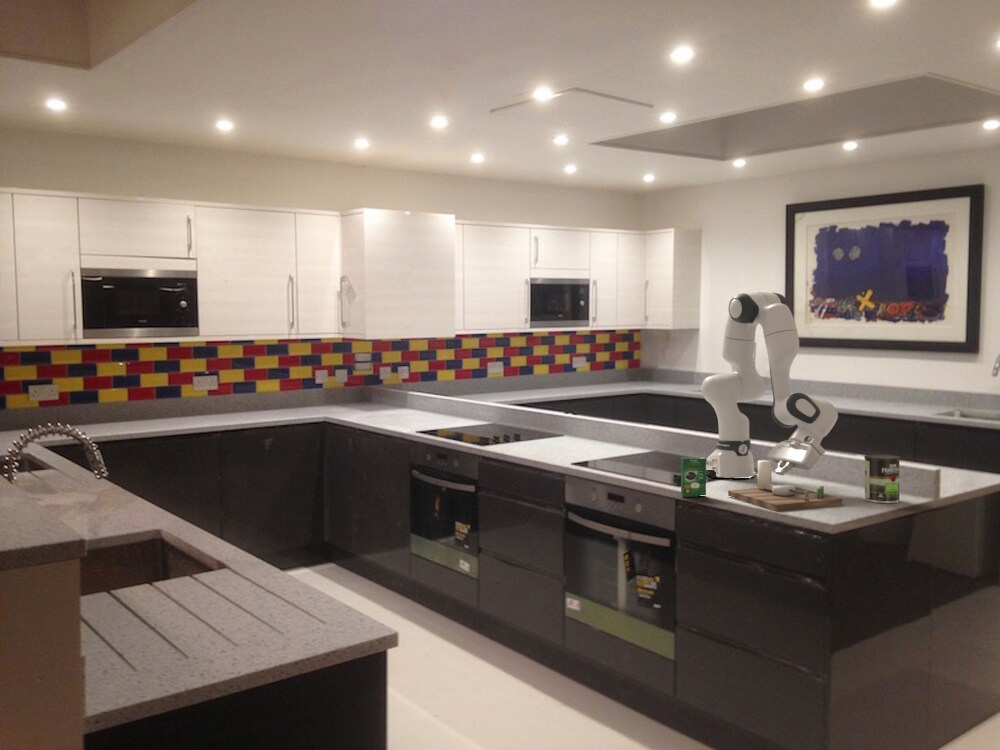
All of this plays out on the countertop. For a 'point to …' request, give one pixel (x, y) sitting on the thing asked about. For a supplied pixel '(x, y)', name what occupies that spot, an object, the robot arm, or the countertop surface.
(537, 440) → the countertop surface
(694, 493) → the coffee box
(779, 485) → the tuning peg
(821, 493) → the board
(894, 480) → the coffee can
